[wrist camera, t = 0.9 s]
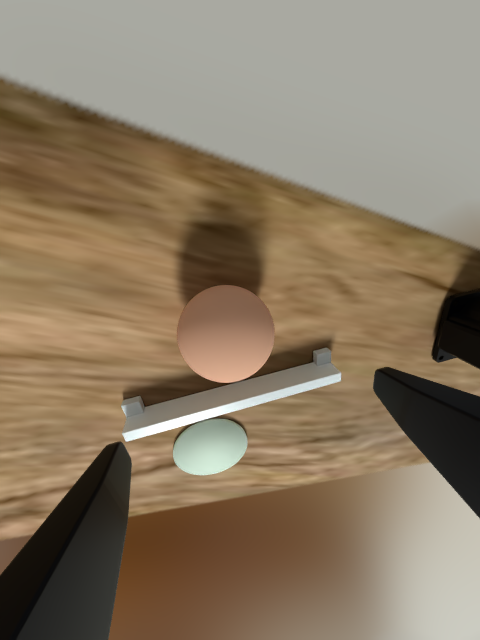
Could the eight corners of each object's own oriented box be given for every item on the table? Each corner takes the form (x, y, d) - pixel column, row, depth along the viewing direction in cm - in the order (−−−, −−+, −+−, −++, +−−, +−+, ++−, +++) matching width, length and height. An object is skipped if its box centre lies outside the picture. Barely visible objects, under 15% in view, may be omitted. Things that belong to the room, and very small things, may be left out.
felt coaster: (241, 409, 20) (242, 412, 19) (250, 459, 22) (251, 462, 22) (163, 431, 19) (163, 434, 19) (183, 480, 22) (183, 483, 21)
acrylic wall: (326, 347, 19) (341, 360, 17) (326, 376, 20) (340, 392, 19) (123, 400, 17) (116, 421, 15) (136, 429, 18) (131, 452, 16)
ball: (253, 267, 15) (287, 291, 10) (262, 340, 18) (293, 388, 13) (167, 284, 14) (160, 319, 10) (189, 358, 17) (191, 417, 12)
